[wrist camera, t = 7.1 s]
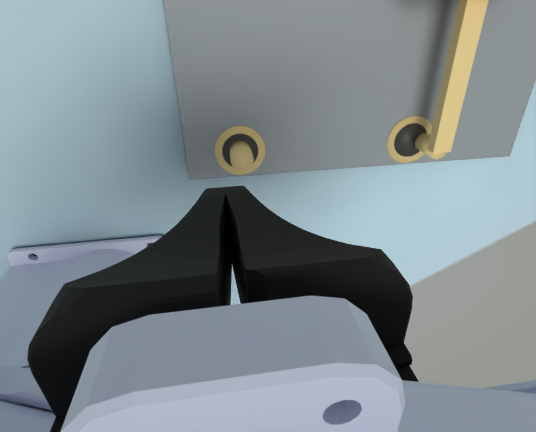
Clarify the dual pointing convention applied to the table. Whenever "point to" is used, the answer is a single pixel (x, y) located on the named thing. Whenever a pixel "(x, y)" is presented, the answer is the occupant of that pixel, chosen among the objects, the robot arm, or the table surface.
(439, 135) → the leg
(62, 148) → the table surface
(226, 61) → the plate
